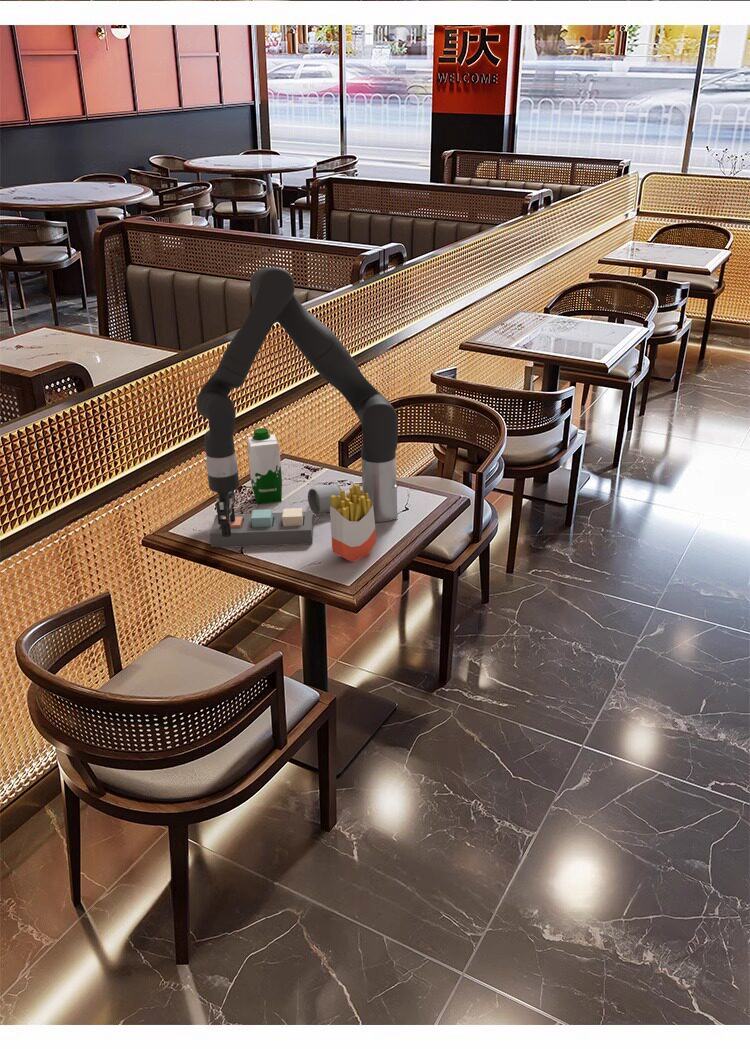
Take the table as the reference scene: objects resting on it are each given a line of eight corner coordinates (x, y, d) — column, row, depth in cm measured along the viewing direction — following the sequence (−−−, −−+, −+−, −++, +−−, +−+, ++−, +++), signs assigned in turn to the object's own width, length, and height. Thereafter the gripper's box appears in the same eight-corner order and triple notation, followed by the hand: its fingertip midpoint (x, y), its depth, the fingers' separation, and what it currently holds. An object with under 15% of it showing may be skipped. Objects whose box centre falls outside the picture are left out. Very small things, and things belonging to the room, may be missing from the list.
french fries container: (377, 551, 217) (375, 486, 209) (344, 566, 210) (341, 499, 202) (364, 545, 220) (362, 480, 212) (332, 560, 213) (328, 494, 205)
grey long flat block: (314, 524, 232) (313, 511, 230) (312, 543, 222) (311, 529, 220) (217, 528, 231) (215, 514, 230) (211, 547, 221) (209, 533, 220)
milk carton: (280, 490, 253) (275, 426, 244) (285, 503, 245) (279, 436, 236) (251, 494, 251) (244, 429, 242) (254, 506, 243) (247, 440, 234)
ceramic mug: (346, 511, 238) (345, 486, 235) (321, 519, 234) (319, 493, 231) (327, 499, 247) (325, 474, 243) (302, 506, 243) (300, 481, 239)
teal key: (273, 520, 227) (272, 509, 226) (271, 529, 223) (270, 517, 221) (254, 521, 227) (253, 509, 226) (252, 530, 223) (251, 518, 221)
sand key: (303, 519, 227) (302, 508, 226) (302, 528, 223) (301, 516, 221) (284, 520, 227) (283, 508, 226) (283, 528, 223) (282, 517, 221)
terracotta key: (243, 528, 228) (242, 516, 227) (241, 536, 224) (240, 524, 222) (224, 528, 228) (223, 517, 227) (222, 537, 224) (220, 525, 222)
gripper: (234, 481, 207) (240, 540, 214) (240, 459, 220) (246, 516, 227) (202, 482, 207) (210, 541, 214) (211, 459, 220) (218, 517, 227)
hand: (229, 528), depth 220 cm, fingers open, 8 cm apart
